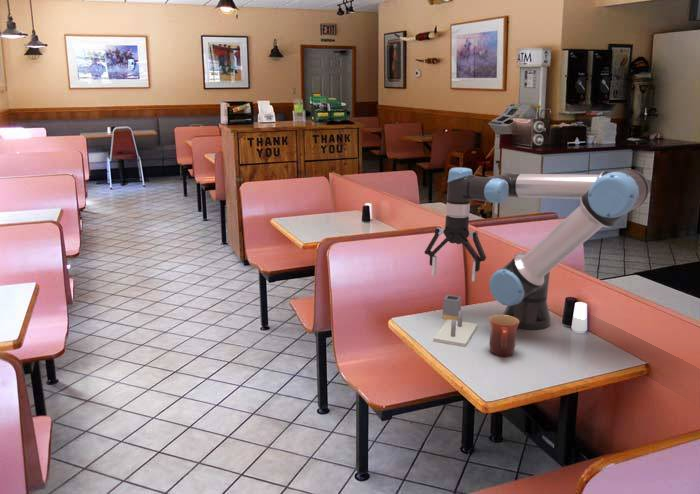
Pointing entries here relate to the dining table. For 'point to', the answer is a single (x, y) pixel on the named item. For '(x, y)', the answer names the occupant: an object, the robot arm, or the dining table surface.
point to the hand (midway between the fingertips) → (453, 277)
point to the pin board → (456, 332)
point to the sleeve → (451, 307)
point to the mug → (503, 334)
